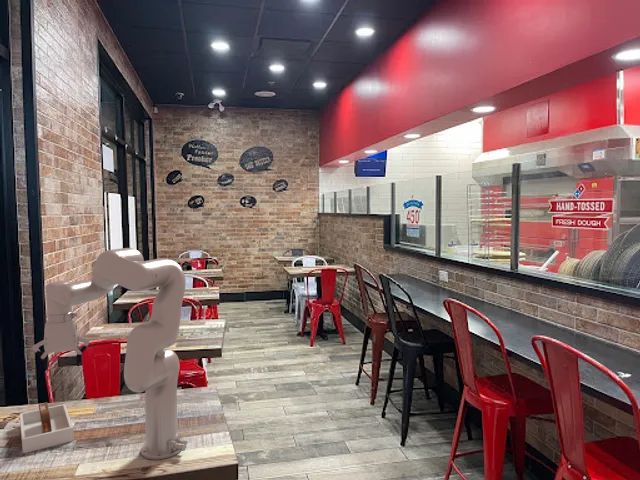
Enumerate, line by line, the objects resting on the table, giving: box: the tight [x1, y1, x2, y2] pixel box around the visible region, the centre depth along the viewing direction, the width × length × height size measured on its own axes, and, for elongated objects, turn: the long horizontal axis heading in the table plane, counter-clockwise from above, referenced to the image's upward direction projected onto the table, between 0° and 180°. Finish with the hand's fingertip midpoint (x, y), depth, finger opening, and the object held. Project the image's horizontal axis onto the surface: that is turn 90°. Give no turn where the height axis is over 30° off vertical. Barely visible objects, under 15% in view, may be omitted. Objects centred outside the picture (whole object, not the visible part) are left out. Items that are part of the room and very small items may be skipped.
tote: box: [19, 403, 75, 454], centre depth 157 cm, size 22×14×4 cm, turn 34°
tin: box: [38, 401, 52, 433], centre depth 157 cm, size 15×3×8 cm, turn 34°
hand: (62, 367), depth 160 cm, fingers open, 9 cm apart
